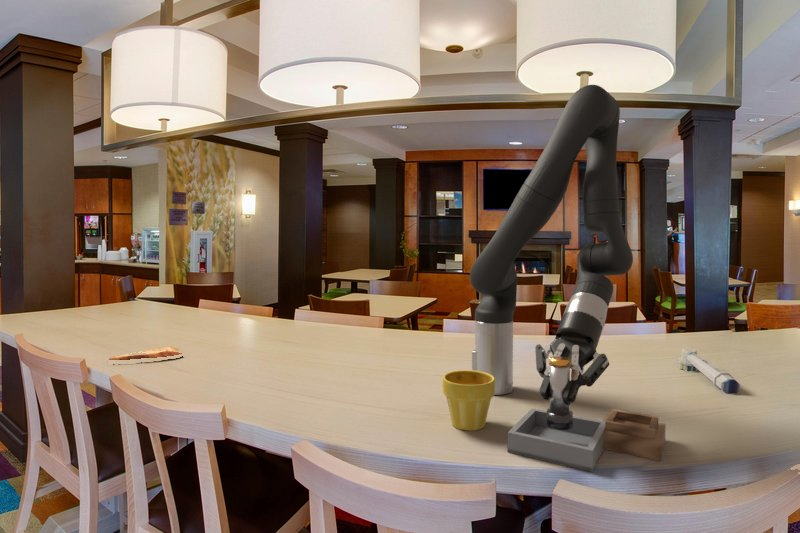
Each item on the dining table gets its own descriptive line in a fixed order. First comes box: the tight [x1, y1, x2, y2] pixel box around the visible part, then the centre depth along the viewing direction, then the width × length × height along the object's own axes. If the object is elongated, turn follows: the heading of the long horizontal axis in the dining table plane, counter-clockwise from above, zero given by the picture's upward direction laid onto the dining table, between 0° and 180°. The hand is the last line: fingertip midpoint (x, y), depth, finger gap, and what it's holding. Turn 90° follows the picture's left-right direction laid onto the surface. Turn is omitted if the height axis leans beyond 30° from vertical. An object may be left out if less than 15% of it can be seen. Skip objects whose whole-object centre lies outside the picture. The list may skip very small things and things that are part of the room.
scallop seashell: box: [108, 346, 182, 360], centre depth 152 cm, size 18×18×4 cm
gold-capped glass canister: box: [546, 356, 574, 430], centre depth 85 cm, size 4×4×12 cm
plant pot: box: [442, 369, 495, 431], centre depth 96 cm, size 10×10×10 cm
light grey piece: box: [677, 346, 741, 394], centre depth 126 cm, size 5×7×25 cm
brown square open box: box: [602, 408, 667, 462], centre depth 86 cm, size 10×10×4 cm
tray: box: [507, 407, 606, 473], centre depth 86 cm, size 14×14×4 cm
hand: (555, 399), depth 84 cm, fingers closed on gold-capped glass canister, 3 cm apart
